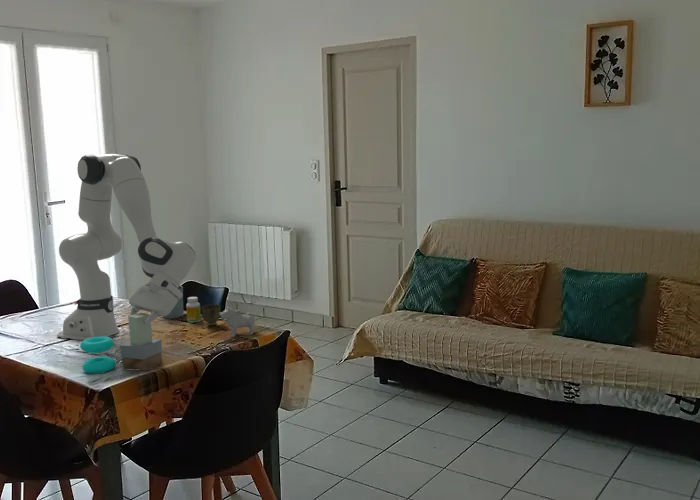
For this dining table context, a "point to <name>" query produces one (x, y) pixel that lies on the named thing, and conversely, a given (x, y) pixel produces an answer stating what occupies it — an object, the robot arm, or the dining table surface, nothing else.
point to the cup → (211, 314)
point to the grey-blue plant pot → (177, 307)
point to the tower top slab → (141, 349)
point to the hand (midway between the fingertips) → (138, 321)
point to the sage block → (139, 329)
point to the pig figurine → (238, 320)
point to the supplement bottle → (193, 310)
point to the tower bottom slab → (142, 362)
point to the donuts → (98, 346)
